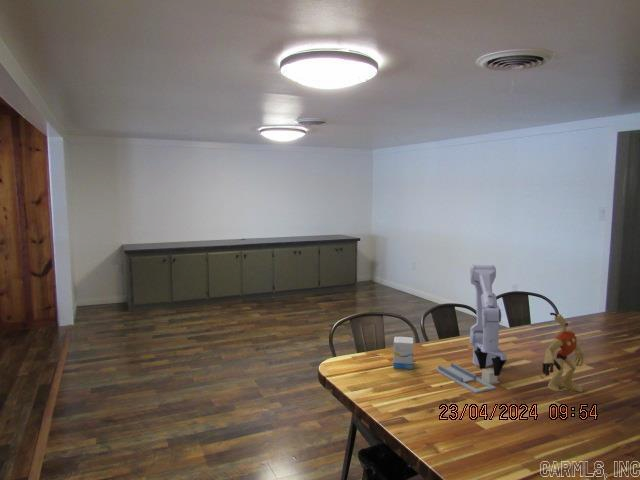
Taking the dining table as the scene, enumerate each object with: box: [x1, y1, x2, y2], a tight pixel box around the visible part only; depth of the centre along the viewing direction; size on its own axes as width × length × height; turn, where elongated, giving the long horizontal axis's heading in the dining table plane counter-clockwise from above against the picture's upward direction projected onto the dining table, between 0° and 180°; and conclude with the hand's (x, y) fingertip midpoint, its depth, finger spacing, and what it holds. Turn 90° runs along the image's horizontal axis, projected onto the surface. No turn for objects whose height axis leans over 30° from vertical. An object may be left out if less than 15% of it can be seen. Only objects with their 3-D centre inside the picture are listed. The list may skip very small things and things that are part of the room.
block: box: [481, 367, 498, 383], centre depth 173 cm, size 4×4×4 cm
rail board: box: [435, 362, 497, 394], centre depth 175 cm, size 10×23×4 cm, turn 23°
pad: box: [479, 377, 501, 385], centre depth 173 cm, size 5×6×2 cm
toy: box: [542, 312, 586, 397], centre depth 164 cm, size 23×9×30 cm, turn 117°
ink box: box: [392, 336, 414, 370], centre depth 193 cm, size 9×8×12 cm
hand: (489, 371), depth 173 cm, fingers open, 7 cm apart
